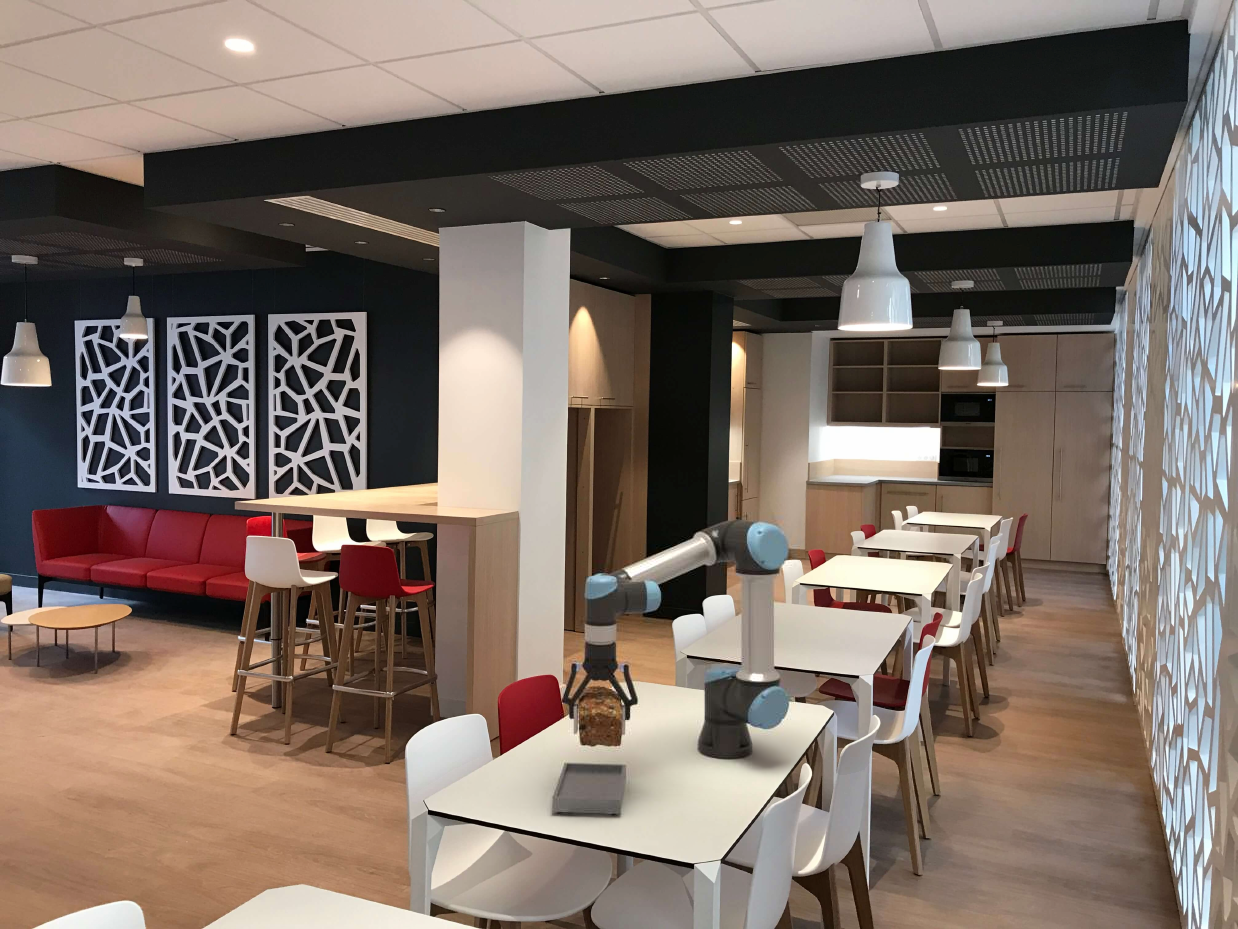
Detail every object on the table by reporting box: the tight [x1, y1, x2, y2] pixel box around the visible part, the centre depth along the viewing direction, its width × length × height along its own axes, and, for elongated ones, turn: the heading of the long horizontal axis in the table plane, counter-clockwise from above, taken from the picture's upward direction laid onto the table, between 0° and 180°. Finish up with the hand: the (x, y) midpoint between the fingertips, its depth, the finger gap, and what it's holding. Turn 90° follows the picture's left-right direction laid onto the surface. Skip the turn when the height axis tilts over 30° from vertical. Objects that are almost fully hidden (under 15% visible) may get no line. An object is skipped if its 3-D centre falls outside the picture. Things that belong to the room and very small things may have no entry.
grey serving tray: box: [551, 762, 627, 816], centre depth 231 cm, size 16×24×4 cm, turn 176°
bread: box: [577, 685, 623, 748], centre depth 229 cm, size 19×11×10 cm, turn 2°
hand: (599, 732), depth 229 cm, fingers closed on bread, 11 cm apart
